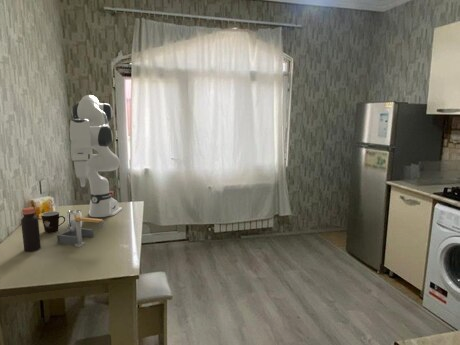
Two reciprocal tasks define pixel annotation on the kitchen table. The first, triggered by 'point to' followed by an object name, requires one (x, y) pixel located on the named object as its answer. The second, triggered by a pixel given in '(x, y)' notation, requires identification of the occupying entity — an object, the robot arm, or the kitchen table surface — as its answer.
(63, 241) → the cradle
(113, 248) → the kitchen table surface
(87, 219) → the bar
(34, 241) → the bottle
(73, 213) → the beer glass
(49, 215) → the coffee mug
